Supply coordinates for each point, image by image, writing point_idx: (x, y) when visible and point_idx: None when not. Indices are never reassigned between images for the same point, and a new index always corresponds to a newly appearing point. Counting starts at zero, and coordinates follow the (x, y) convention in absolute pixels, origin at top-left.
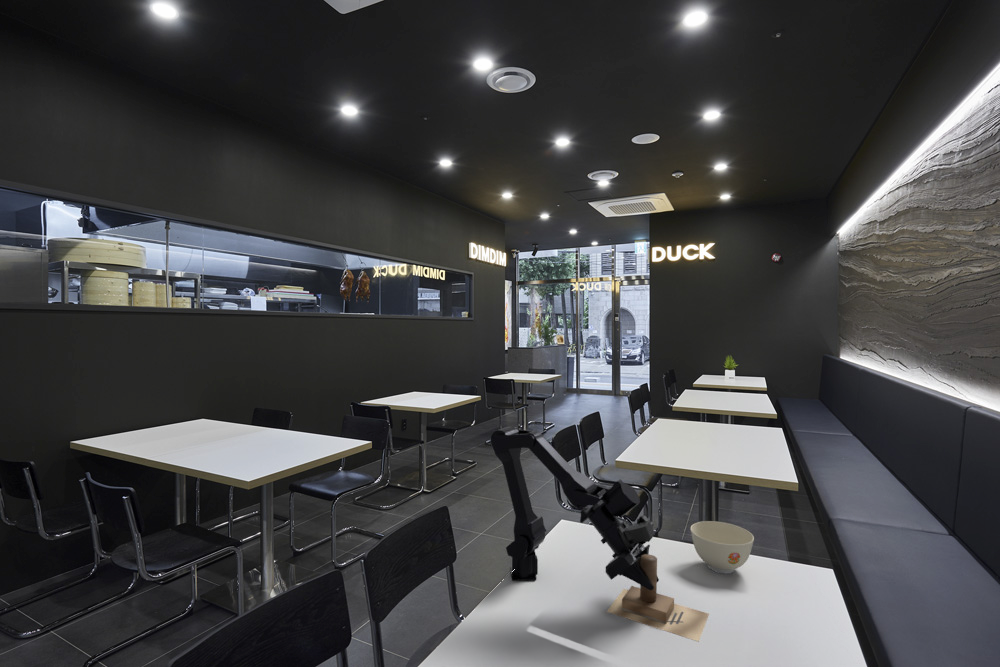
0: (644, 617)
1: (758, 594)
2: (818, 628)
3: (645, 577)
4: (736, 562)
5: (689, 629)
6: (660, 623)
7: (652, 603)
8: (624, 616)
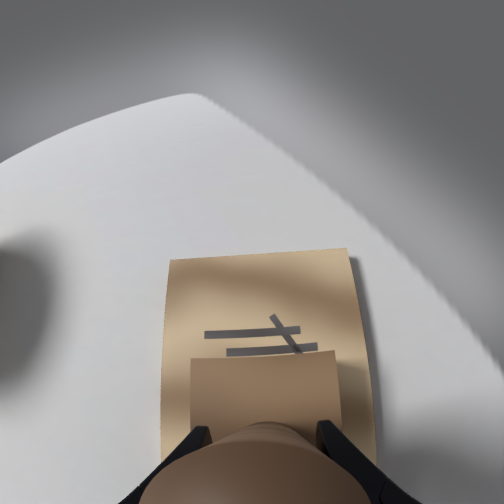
0: None
1: (41, 207)
2: (130, 124)
3: (378, 470)
4: None
5: (304, 285)
6: None
7: (298, 427)
8: None
